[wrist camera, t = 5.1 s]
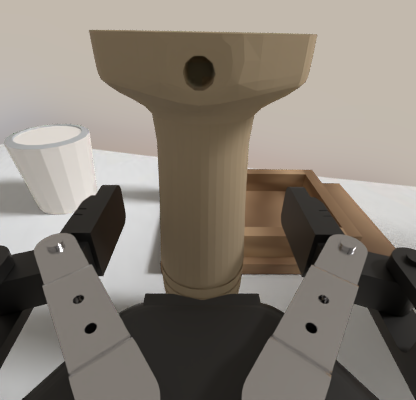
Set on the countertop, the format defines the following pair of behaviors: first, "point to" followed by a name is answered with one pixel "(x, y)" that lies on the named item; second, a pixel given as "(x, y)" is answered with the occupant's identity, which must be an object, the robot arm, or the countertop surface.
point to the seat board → (272, 228)
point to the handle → (202, 134)
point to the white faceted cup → (55, 165)
